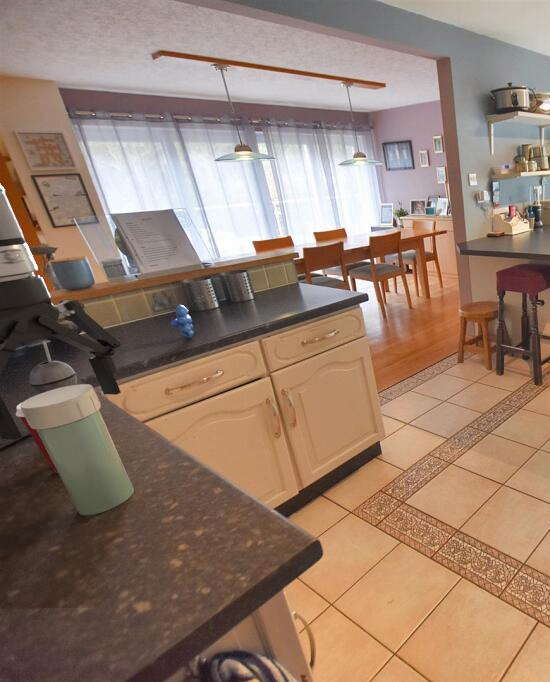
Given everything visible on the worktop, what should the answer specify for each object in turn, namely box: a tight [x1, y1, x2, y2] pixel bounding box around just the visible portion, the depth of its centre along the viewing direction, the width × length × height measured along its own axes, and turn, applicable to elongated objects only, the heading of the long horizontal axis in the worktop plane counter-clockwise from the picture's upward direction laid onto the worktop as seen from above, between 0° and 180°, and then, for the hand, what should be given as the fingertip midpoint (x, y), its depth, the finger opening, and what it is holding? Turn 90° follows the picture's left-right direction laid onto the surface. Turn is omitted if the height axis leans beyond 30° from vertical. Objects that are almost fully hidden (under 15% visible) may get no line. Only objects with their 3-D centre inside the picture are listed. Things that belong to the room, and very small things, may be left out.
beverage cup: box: [29, 340, 78, 394], centre depth 96 cm, size 7×7×20 cm
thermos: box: [36, 409, 135, 516], centre depth 70 cm, size 7×7×19 cm
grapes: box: [169, 304, 195, 340], centre depth 157 cm, size 12×7×12 cm, turn 32°
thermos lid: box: [20, 383, 102, 429], centre depth 67 cm, size 8×8×4 cm
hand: (66, 413), depth 67 cm, fingers open, 13 cm apart
